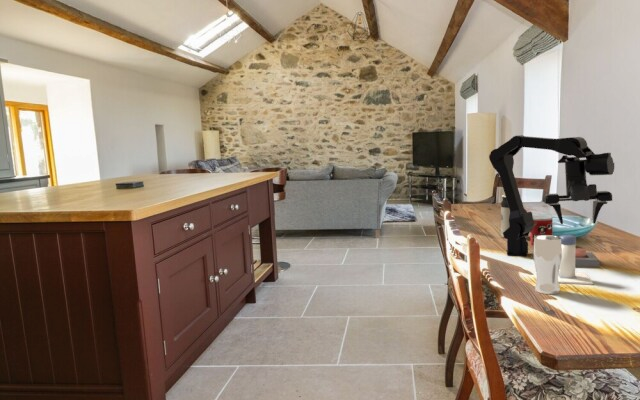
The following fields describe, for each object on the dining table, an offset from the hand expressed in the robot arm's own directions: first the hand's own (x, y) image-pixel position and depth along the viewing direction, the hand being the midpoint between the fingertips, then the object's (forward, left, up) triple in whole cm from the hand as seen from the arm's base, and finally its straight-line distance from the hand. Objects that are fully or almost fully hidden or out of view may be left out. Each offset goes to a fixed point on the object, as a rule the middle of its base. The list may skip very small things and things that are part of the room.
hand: (577, 223), depth 145 cm
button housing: (0, +1, -13) cm, 13 cm away
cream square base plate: (-6, -17, -13) cm, 22 cm away
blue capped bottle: (-6, -17, -13) cm, 22 cm away
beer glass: (-13, -30, -14) cm, 35 cm away
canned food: (-8, +27, -14) cm, 31 cm away
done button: (0, +1, -12) cm, 12 cm away
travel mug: (-18, +41, -14) cm, 46 cm away
